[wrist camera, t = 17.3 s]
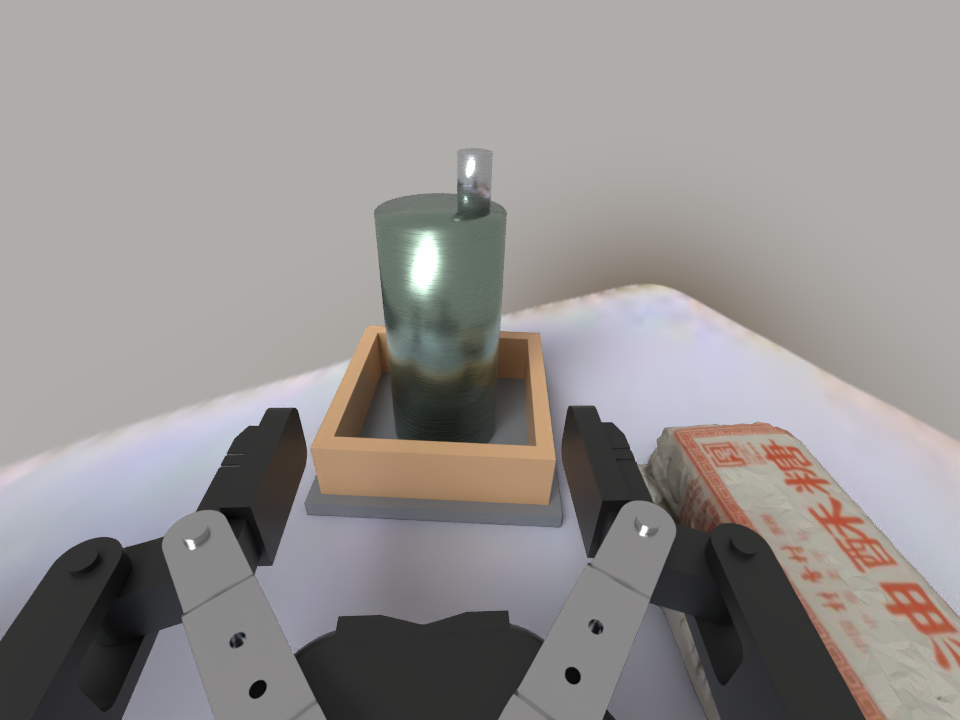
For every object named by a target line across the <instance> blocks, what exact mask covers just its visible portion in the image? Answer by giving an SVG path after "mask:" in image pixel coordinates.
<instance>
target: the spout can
mask: <svg viewBox="0 0 960 720" xmlns="http://www.w3.org/2000/svg"><path fill="white" fill-rule="evenodd" d="M491 178H492V151H490V150H486V149H474V148H470V149H461V150H458V151H457V194H443V193H441V194H440V193H435V194H418V195H411V196H404V197H400V198H396V199H392V200H389V201H387V202H385V203H382V204H381V205H379V206H378V207H377V208H376V209H375V211H374V217H375V228H376V238H377V248H378V258H379V269H380V279H381V289H382V299H383V309H384V319H385V330H386V340H387V351H388V361H389V371H390V381H391V392H392V402H393V412H394V422H395V431H396V435H397V438H398V440H417V441H438V442H459V443H480V444H487V443H488V442H489V441H490V439H491V438H492V436H493V433H494V429H495V414H496V396H497V378H498V360H499V342H500V324H501V305H502V288H503V270H504V252H505V235H506V216H507V213H506V210H505V209H504V208H503V207H502V206H501V205H499V204H497V203H495V202H493V201H491Z"/></svg>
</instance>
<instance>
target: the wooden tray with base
mask: <svg viewBox="0 0 960 720" xmlns="http://www.w3.org/2000/svg"><path fill="white" fill-rule="evenodd" d="M311 453H312V457H313V461H314V465H315V470H316V474H317V475H316V477H315V480H314V482H313V484H312V487H311V489H310V491H309V494H308V496H307V498H306V501H305V503H304V504H305V508H306V511H307V515H327V516H347V517H367V518H387V519H406V520H426V521H446V522H466V523H486V524H506V525H525V526H545V527H561V521H562V509H561V500H560V492H559V484H558V476H557V468H556V458H555V450H554V442H553V434H552V426H551V418H550V410H549V402H548V394H547V386H546V378H545V370H544V362H543V354H542V346H541V338H540V333H527V332H505V331H500V342H499V360H498V378H497V396H496V414H495V429H494V433H493V436H492V438H491V439H490V441H489V442H488V443H487V444H480V443H459V442H438V441H417V440H398V438H397V435H396V431H395V422H394V412H393V402H392V392H391V381H390V371H389V361H388V351H387V340H386V330H385V326H367V328H366V330H365V332H364V334H363V336H362V338H361V341H360V343H359V345H358V347H357V349H356V351H355V354H354V356H353V358H352V360H351V362H350V364H349V366H348V369H347V371H346V373H345V375H344V377H343V379H342V381H341V384H340V386H339V388H338V390H337V392H336V394H335V397H334V399H333V401H332V403H331V405H330V407H329V409H328V412H327V414H326V416H325V418H324V420H323V422H322V424H321V427H320V429H319V431H318V433H317V435H316V437H315V440H314V442H313V444H312V446H311Z"/></svg>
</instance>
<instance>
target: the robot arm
mask: <svg viewBox="0 0 960 720" xmlns="http://www.w3.org/2000/svg"><path fill="white" fill-rule="evenodd" d="M561 452H562V462H563V466H564V470H565V474H566V477H567V481H568V485H569V489H570V493H571V497H572V500H573V504H574V508H575V512H576V516H577V520H578V523H579V527H580V531H581V535H582V539H583V543H584V546H585V550H586V554H587V558H594V559H593V561H592V563H591V564H590V563H588V564H587V565H586V567H585V568H584V570H583V572H582V574H581V575H580V577H579V579H578V581H577V583H576V585H575V586H574V588H573V590H572V592H571V594H570V595H569V597H568V599H567V601H566V603H565V605H564V606H563V608H562V610H561V612H560V614H559V615H558V617H557V619H556V621H555V623H554V625H553V626H552V628H551V630H550V632H549V634H548V635H547V637H546V639H545V640H543V639H542V638H541V637H539V636H538V635H536V634H535V633H533V632H531V631H529V630H527V629H525V628H522V627H520V626H517V625H513V624H509V614H508V611H482V612H466V613H462V614H459V615H456V616H452V617H449V618H446V619H443V620H439V621H436V622H433V623H429V624H424V625H422V624H416V623H412V622H408V621H404V620H400V619H395V618H391V617H387V616H383V615H368V616H339V617H338V622H337V628H336V631H333V632H330V633H327V634H325V635H323V636H320V637H318V638H317V639H315V640H313V641H311V642H310V643H308V644H307V645H305V646H304V647H302V648H301V649H300V650H298V651H297V652H296V653H295V654H293V652H292V650H291V648H290V646H289V644H288V642H287V640H286V637H285V635H284V633H283V631H282V629H281V627H280V625H279V623H278V621H277V619H276V617H275V615H274V613H273V611H272V609H271V607H270V605H269V603H268V601H267V599H266V596H265V594H264V592H263V590H262V588H261V586H260V584H259V582H258V580H257V578H256V576H255V571H256V568H257V566H272V564H273V561H274V558H275V555H276V553H277V550H278V547H279V544H280V541H281V538H282V535H283V532H284V529H285V526H286V523H287V520H288V517H289V514H290V511H291V508H292V505H293V502H294V499H295V496H296V493H297V490H298V487H299V484H300V481H301V478H302V475H303V472H304V469H305V466H306V460H307V447H306V442H305V438H304V434H303V430H302V425H301V421H300V417H299V413H298V410H297V409H296V408H268V409H267V410H266V412H265V414H264V416H263V418H262V420H261V422H260V424H259V426H248V427H247V428H246V429H245V430H244V431H243V432H242V433H240V434H239V435H238V436H237V437H236V438H235V439H234V441H233V443H232V445H231V447H230V448H229V450H228V452H227V456H225V458H224V460H223V462H222V463H221V468H219V469H218V471H217V473H216V475H215V477H214V478H213V480H212V482H211V484H210V486H209V488H208V490H207V492H206V494H205V495H204V497H203V499H202V501H201V503H200V505H199V507H198V509H197V510H196V512H194V513H192V514H189V515H187V516H185V517H183V518H182V519H180V520H179V521H177V522H176V523H175V524H174V525H173V526H172V527H171V528H170V529H169V530H168V531H167V533H166V535H165V536H164V537H161V538H158V539H155V540H151V541H148V542H144V543H141V544H137V545H134V546H130V547H126V548H123V547H122V545H121V544H120V543H119V541H117V540H116V539H113V538H110V537H99V538H94V539H90V540H87V541H84V542H82V543H80V544H78V545H76V546H74V547H72V548H71V549H69V550H68V551H66V552H65V553H64V554H63V555H61V556H60V557H59V558H58V559H57V560H56V561H55V562H54V564H53V565H52V566H51V568H50V569H49V571H48V572H47V574H46V575H45V576H44V578H43V579H42V581H41V582H40V584H39V585H38V587H37V588H36V590H35V591H34V593H33V594H32V596H31V597H30V599H29V600H28V602H27V603H26V604H25V606H24V607H23V609H22V610H21V612H20V613H19V615H18V616H17V618H16V619H15V621H14V622H13V624H12V625H11V627H10V628H9V629H8V631H7V632H6V634H5V635H4V637H3V638H2V640H1V641H0V720H121V719H122V717H123V714H124V712H125V710H126V707H127V705H128V703H129V700H130V698H131V696H132V693H133V691H134V689H135V686H136V684H137V682H138V679H139V677H140V675H141V672H142V670H143V667H144V665H145V663H146V660H147V658H148V656H149V653H150V651H151V649H152V646H153V644H154V642H155V639H156V637H157V635H158V632H159V630H162V629H165V628H168V627H171V626H174V625H177V624H180V623H183V625H184V628H185V631H186V634H187V637H188V640H189V643H190V646H191V649H192V652H193V655H194V658H195V661H196V664H197V667H198V670H199V673H200V676H201V679H202V682H203V685H204V688H205V691H206V694H207V697H208V700H209V703H210V706H211V709H212V713H213V716H214V719H215V720H616V719H615V718H614V717H613V716H612V715H611V714H610V713H609V711H608V710H607V707H608V704H609V702H610V699H611V697H612V694H613V692H614V689H615V687H616V684H617V682H618V679H619V677H620V674H621V672H622V669H623V667H624V664H625V662H626V659H627V657H628V654H629V652H630V649H631V647H632V644H633V642H634V639H635V637H636V634H637V632H638V629H639V627H640V624H641V622H642V619H643V617H644V614H645V612H646V609H647V607H648V604H649V603H651V604H655V605H658V606H661V607H665V608H668V609H672V610H675V611H679V612H682V613H684V614H685V617H686V620H687V623H688V626H689V629H690V632H691V635H692V638H693V641H694V643H695V646H696V649H697V652H698V655H699V658H700V661H701V664H702V667H703V670H704V673H705V676H706V679H707V681H708V684H709V687H710V690H711V693H712V696H713V699H714V702H715V705H716V708H717V711H718V714H719V717H720V719H721V720H866V718H865V717H864V715H863V713H862V711H861V709H860V708H859V706H858V704H857V702H856V700H855V699H854V697H853V695H852V693H851V691H850V690H849V688H848V686H847V684H846V682H845V681H844V679H843V677H842V675H841V673H840V672H839V670H838V668H837V666H836V664H835V663H834V661H833V659H832V657H831V655H830V654H829V652H828V650H827V648H826V646H825V645H824V643H823V641H822V639H821V637H820V636H819V634H818V632H817V630H816V628H815V626H814V625H813V623H812V621H811V619H810V617H809V616H808V614H807V612H806V610H805V608H804V607H803V605H802V603H801V601H800V599H799V598H798V596H797V594H796V592H795V590H794V589H793V587H792V585H791V583H790V581H789V580H788V578H787V576H786V574H785V572H784V571H783V569H782V567H781V565H780V563H779V562H778V560H777V558H776V556H775V554H774V553H773V551H772V549H771V547H770V546H769V544H768V543H767V542H766V541H765V539H764V538H763V537H761V536H760V535H759V534H758V533H756V532H755V531H753V530H752V529H750V528H748V527H746V526H743V525H740V524H736V523H724V524H720V525H718V526H717V527H715V528H714V530H713V531H712V533H708V532H704V531H700V530H696V529H692V528H689V527H685V526H682V525H679V524H677V523H675V522H674V521H673V519H672V518H671V516H670V515H669V514H668V513H667V512H666V511H665V510H664V509H662V508H661V507H659V506H657V505H656V504H654V502H653V500H652V497H651V495H650V493H649V490H648V488H647V486H646V484H645V481H644V479H643V477H642V474H641V472H640V470H639V467H638V465H637V463H636V462H635V458H634V456H633V453H632V451H630V447H629V444H628V442H627V440H626V437H625V435H624V434H623V433H622V432H621V431H620V430H619V429H618V428H617V427H616V426H615V425H614V424H613V423H612V422H601V420H600V417H599V415H598V412H597V410H596V408H595V406H569V407H568V410H567V415H566V421H565V427H564V433H563V439H562V448H561Z"/></svg>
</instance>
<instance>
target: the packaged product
mask: <svg viewBox="0 0 960 720" xmlns="http://www.w3.org/2000/svg"><path fill="white" fill-rule="evenodd" d="M657 444H658V447H657V449H656V450H655V451H654V452H653V454H652V455H651V457H650V459H649V462H648V464H644V465H638V467H639V470H640V472H641V474H642V477H643V479H644V481H645V484H646V486H647V488H648V490H649V493H650V495H651V497H652V500H653V502H654V504H656V505H657V506H659V507H661V508H662V509H664V510H665V511H666V512H667V513H668V514H669V515H670V516H671V518H672V519H673V521H674V522H675V523H677V524H679V525H682V526H685V527H689V528H692V529H696V530H700V531H704V532H708V533H712V531H713V530H714V528H715V527H717V526H718V525H720V524H724V523H736V524H740V525H743V526H746V527H748V528H750V529H752V530H753V531H755V532H756V533H758V534H759V535H760V536H761V537H763V538H764V539H765V541H766V542H767V543H768V544H769V546H770V547H771V549H772V551H773V553H774V554H775V556H776V558H777V560H778V562H779V563H780V565H781V567H782V569H783V571H784V572H785V574H786V576H787V578H788V580H789V581H790V583H791V585H792V587H793V589H794V590H795V592H796V594H797V596H798V598H799V599H800V601H801V603H802V605H803V607H804V608H805V610H806V612H807V614H808V616H809V617H810V619H811V621H812V623H813V625H814V626H815V628H816V630H817V632H818V634H819V636H820V637H821V639H822V641H823V643H824V645H825V646H826V648H827V650H828V652H829V654H830V655H831V657H832V659H833V661H834V663H835V664H836V666H837V668H838V670H839V672H840V673H841V675H842V677H843V679H844V681H845V682H846V684H847V686H848V688H849V690H850V691H851V693H852V695H853V697H854V699H855V700H856V702H857V704H858V706H859V708H860V709H861V711H862V713H863V715H864V717H865V718H866V720H960V617H959V616H958V615H957V614H956V613H955V612H954V611H953V610H952V609H951V608H950V606H949V605H948V604H947V603H946V602H945V601H944V600H943V599H942V598H941V597H940V596H939V595H938V593H937V592H936V591H935V590H934V589H933V588H932V587H931V586H930V585H929V583H928V582H927V581H926V580H925V579H924V577H923V576H922V575H921V574H920V573H919V572H918V571H917V570H916V569H915V568H914V567H913V566H912V565H911V564H910V563H909V562H908V561H907V560H906V559H905V558H904V557H903V556H902V555H901V554H900V552H899V551H898V550H897V549H896V548H895V547H894V545H893V544H892V542H891V541H890V540H889V539H888V538H887V537H886V536H885V535H884V533H883V532H882V531H881V530H879V529H878V528H877V527H876V526H875V525H874V524H873V522H872V520H871V519H870V518H869V517H868V516H867V515H866V514H865V513H864V512H863V510H862V509H861V508H860V507H859V506H858V505H857V504H856V503H855V502H854V501H853V500H852V499H851V498H850V497H849V496H848V495H847V494H846V492H845V491H844V490H843V489H842V488H841V487H840V486H839V484H838V483H837V482H836V481H835V480H834V479H833V478H832V477H831V475H830V474H829V473H828V471H827V470H826V469H825V468H823V466H822V465H821V464H820V463H819V461H818V460H817V459H816V458H814V457H813V455H812V454H811V453H810V452H809V450H808V449H807V448H806V446H805V445H803V444H802V442H801V441H800V440H798V439H797V438H795V437H794V436H793V435H792V434H790V433H789V432H788V431H787V430H783V429H780V428H778V427H772V426H771V425H770V424H768V423H762V422H756V423H754V424H737V425H717V424H713V425H698V426H688V427H670V428H665V429H664V430H663V432H662V435H661V437H659V438H658V439H657ZM662 608H663V611H664V613H665V616H666V618H667V621H668V623H669V626H670V628H671V631H672V633H673V636H674V638H675V641H676V643H677V646H678V648H679V651H680V653H681V656H682V658H683V661H684V664H685V666H686V669H687V671H688V674H689V677H690V679H691V681H692V684H693V686H694V689H695V691H696V694H697V696H698V698H699V701H700V703H701V706H702V708H703V711H704V713H705V715H706V718H707V720H721V719H720V717H719V714H718V711H717V708H716V705H715V702H714V699H713V696H712V693H711V690H710V687H709V684H708V681H707V679H706V676H705V673H704V670H703V667H702V664H701V661H700V658H699V655H698V652H697V649H696V646H695V643H694V641H693V638H692V635H691V632H690V629H689V626H688V623H687V620H686V617H685V614H684V613H682V612H679V611H675V610H672V609H668V608H665V607H662Z"/></svg>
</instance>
